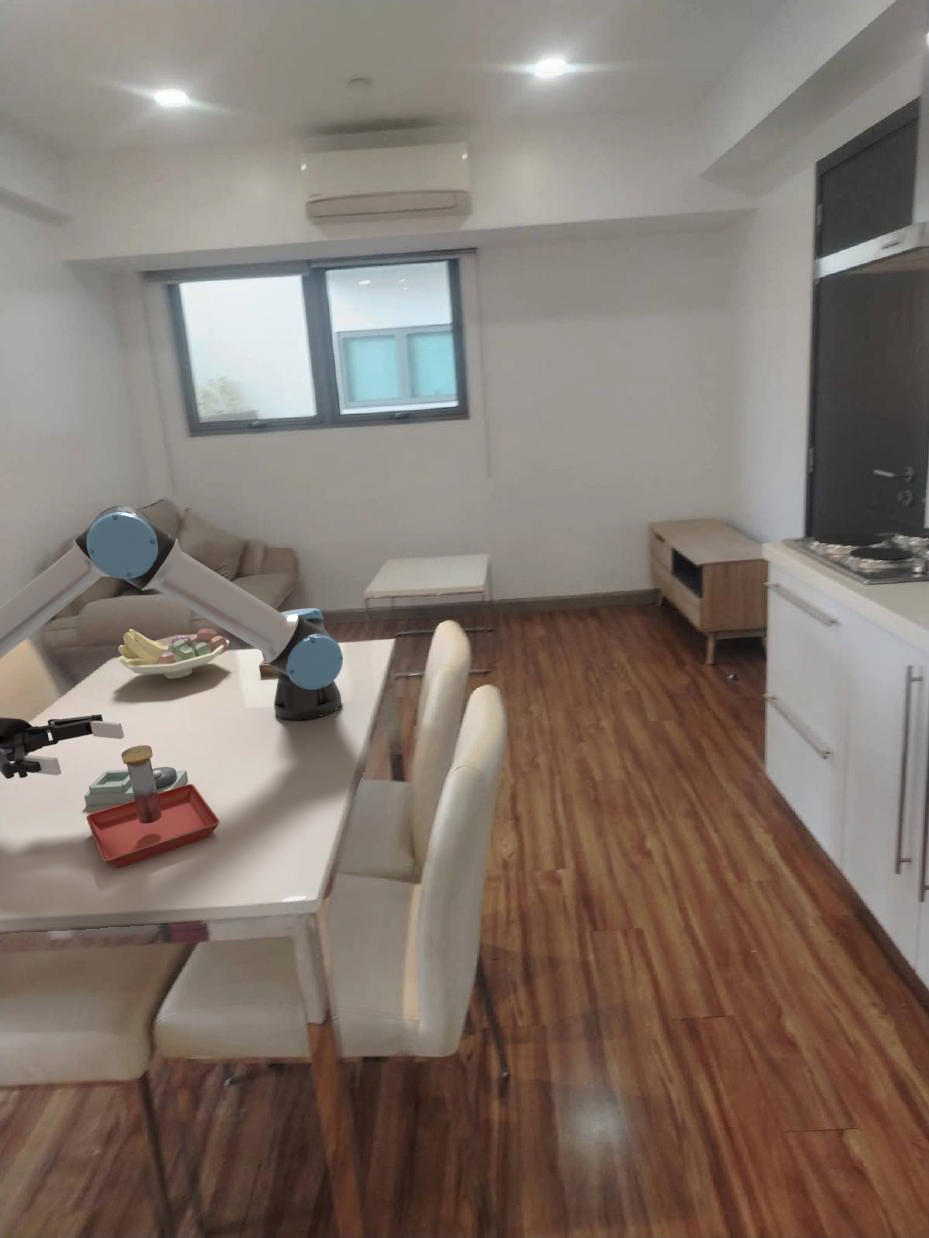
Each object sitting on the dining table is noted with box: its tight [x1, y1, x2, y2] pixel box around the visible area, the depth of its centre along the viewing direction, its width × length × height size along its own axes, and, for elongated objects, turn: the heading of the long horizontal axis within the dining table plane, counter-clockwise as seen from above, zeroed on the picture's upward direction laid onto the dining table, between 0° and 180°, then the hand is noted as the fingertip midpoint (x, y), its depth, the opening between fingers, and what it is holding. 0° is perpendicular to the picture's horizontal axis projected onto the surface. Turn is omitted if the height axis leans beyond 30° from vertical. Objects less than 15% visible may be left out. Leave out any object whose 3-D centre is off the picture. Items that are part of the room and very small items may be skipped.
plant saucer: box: [85, 783, 221, 868], centre depth 133 cm, size 18×18×3 cm
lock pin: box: [121, 744, 162, 824], centre depth 131 cm, size 5×5×12 cm
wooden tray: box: [258, 659, 277, 677], centre depth 214 cm, size 16×18×3 cm
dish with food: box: [117, 628, 230, 679], centre depth 212 cm, size 28×28×14 cm
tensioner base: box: [83, 766, 189, 807], centre depth 147 cm, size 16×8×4 cm, turn 88°
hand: (90, 748), depth 133 cm, fingers open, 13 cm apart
